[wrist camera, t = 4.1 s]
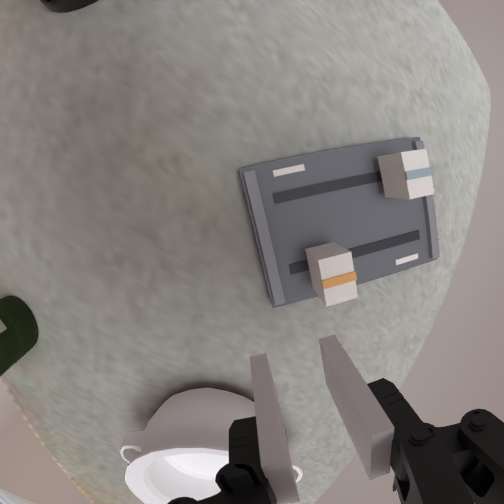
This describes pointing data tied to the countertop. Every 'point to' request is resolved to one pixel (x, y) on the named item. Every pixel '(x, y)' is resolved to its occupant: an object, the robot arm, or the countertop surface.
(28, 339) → the wine bottle
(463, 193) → the countertop surface
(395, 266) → the console
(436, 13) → the countertop surface
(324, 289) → the fader low
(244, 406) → the pot
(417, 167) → the fader high
